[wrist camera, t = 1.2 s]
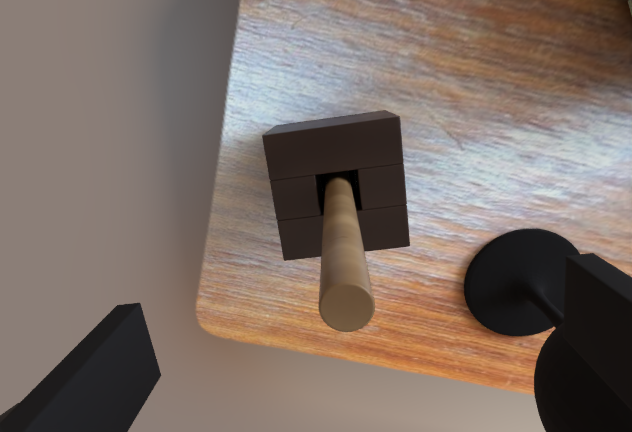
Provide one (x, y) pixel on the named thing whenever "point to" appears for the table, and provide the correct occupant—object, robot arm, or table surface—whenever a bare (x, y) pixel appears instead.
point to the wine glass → (542, 327)
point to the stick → (343, 261)
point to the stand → (335, 156)
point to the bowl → (630, 5)
